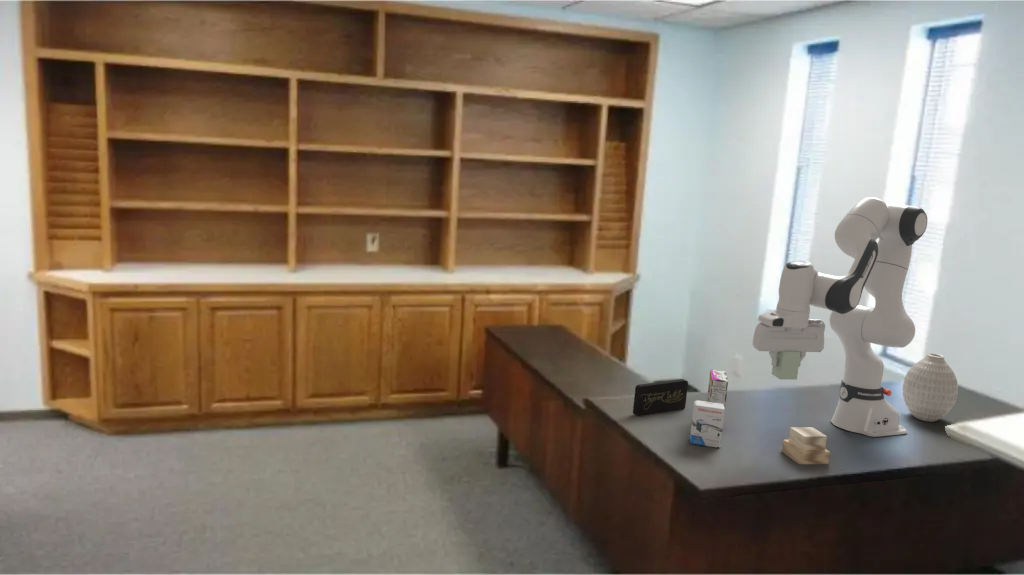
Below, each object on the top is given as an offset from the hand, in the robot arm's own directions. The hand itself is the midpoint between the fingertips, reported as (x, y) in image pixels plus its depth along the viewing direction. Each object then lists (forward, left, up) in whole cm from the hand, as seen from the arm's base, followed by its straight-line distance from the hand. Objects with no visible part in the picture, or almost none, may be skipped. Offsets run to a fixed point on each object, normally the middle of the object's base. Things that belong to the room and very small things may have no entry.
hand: (785, 366), depth 210 cm
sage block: (0, 0, -3) cm, 3 cm away
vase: (-70, -25, -25) cm, 79 cm away
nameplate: (+24, -29, -25) cm, 45 cm away
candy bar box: (+11, -17, -25) cm, 32 cm away
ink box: (+20, -3, -25) cm, 32 cm away
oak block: (-5, +7, -25) cm, 27 cm away
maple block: (-6, +7, -21) cm, 23 cm away
